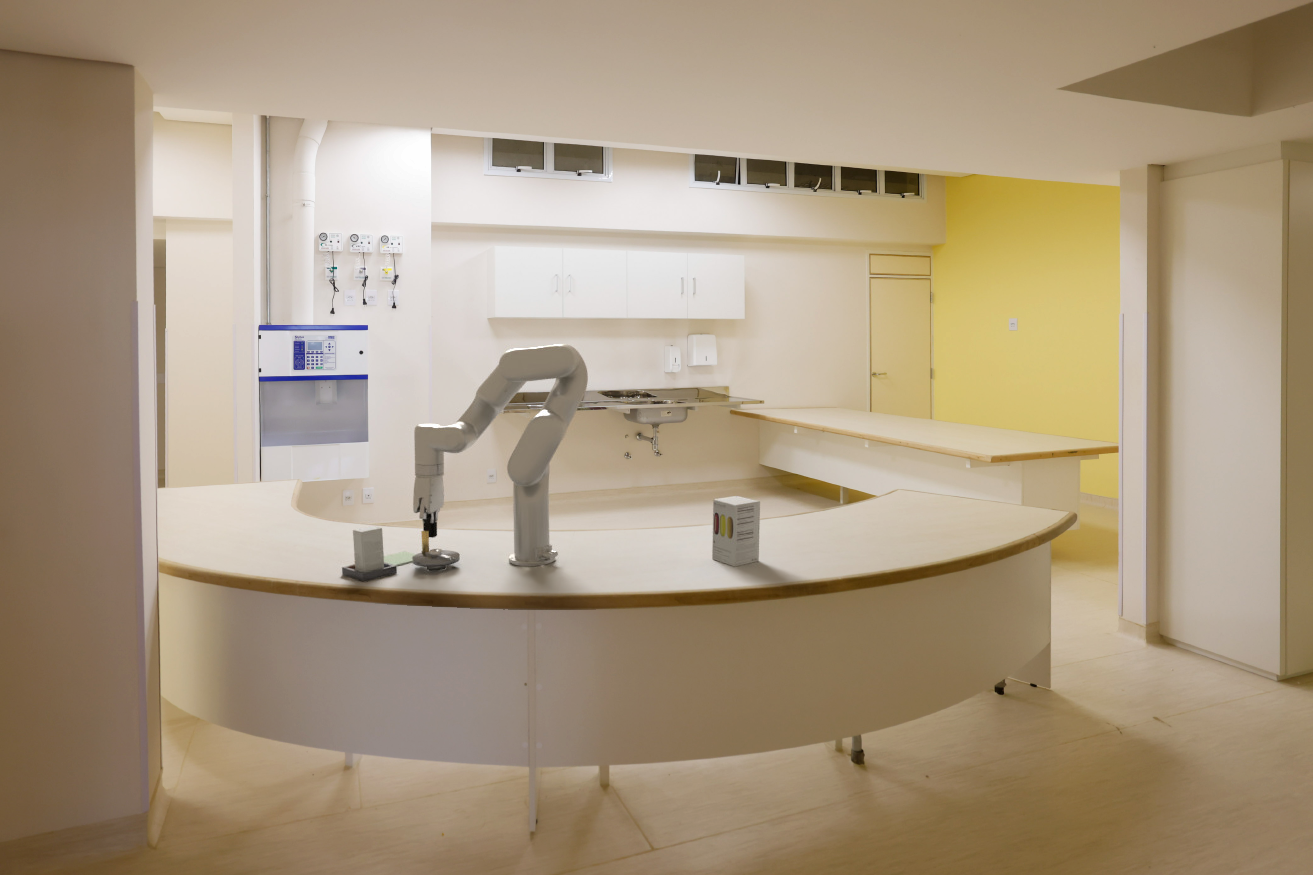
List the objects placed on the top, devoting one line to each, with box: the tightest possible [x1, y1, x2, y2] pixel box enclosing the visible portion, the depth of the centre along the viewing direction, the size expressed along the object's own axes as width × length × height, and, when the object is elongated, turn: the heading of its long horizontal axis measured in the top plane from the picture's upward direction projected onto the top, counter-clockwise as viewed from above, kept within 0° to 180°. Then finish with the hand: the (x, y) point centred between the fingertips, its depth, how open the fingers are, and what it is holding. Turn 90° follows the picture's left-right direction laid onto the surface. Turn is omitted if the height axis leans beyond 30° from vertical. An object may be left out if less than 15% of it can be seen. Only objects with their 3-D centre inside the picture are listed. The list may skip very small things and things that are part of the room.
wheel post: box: [426, 565, 447, 572], centre depth 217 cm, size 5×5×2 cm
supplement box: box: [711, 495, 761, 567], centre depth 224 cm, size 10×9×17 cm
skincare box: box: [352, 525, 385, 573], centre depth 211 cm, size 6×4×12 cm
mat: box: [384, 550, 417, 566], centre depth 226 cm, size 10×10×1 cm
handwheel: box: [412, 530, 461, 568], centre depth 216 cm, size 12×12×7 cm
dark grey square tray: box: [341, 562, 398, 583], centre depth 212 cm, size 10×10×2 cm
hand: (430, 536), depth 223 cm, fingers closed
